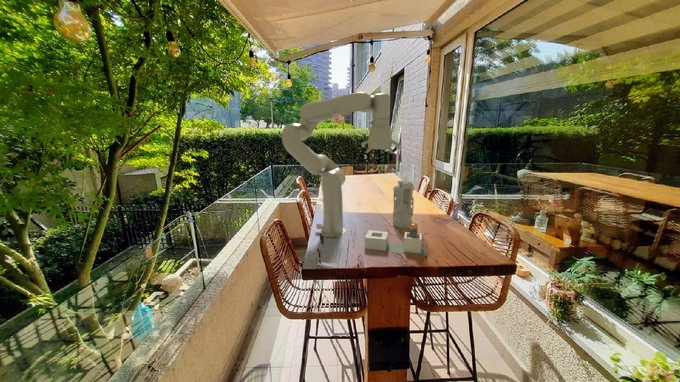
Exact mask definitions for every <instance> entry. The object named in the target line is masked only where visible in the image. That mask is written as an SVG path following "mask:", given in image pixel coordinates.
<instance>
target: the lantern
mask: <svg viewBox="0 0 680 382" xmlns="http://www.w3.org/2000/svg"><path fill="white" fill-rule="evenodd" d="M414 190H415V187H414V184H413V183H412V181H411V180H399V181H397V185H396V186H393V199H392V201H393V212H392V223H393V226H394V227H396V228H397V227H398V229H410V223H414V222H413V219H412V217H413V215H414V201H415V200H414V196H413V194H414Z"/></svg>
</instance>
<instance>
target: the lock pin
mask: <svg viewBox="0 0 680 382" xmlns="http://www.w3.org/2000/svg"><path fill="white" fill-rule="evenodd" d="M418 226H419V225H418V223H416V222H413V223H410V228H409V232H410V238H417V233H418V228H419V227H418Z"/></svg>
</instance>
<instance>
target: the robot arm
mask: <svg viewBox="0 0 680 382" xmlns="http://www.w3.org/2000/svg"><path fill="white" fill-rule="evenodd" d="M390 110H391V95H390V94H388V93H375V94H374V95H369V93H367V92H363V91H359V92H353V93H348V94H343V95H340V96H336V97H332V98H328V99H322V100H318V101H312V102H308V103H305V104H303V105H301V107H300V108H299V115H300V120H299V121H298V122H296V123H294V122H293V123H292V122H291V123H287V125H285V126H284V127H283V130H282V132H281V142H282V144H283V147H284V149H285V150H286V151H287V152H288V154H289V155H291V156H292V158H294V159H295V160H296V161H297V162H298V163H299V164H300V165H301V166H302V167H303V168H305V170H307V171H308V172H309V173H310V174H311V175H313V176H319V175H320V176H321V180H320V184H321V185H320V186H321V192H322V193H321V194H322V206H323V207H322V208H323V212H322V213H323V223H322V224H321V223H316V227H315V228H316V229H318V230H321V231H320V234H321V236H322V237H324V238H325V237H326V238H334V239H335V238H337V237H339V236H342V235H345V234H346V232H347V230H346V228H344V224H343V223H344V222H343V221H344V219H343V217H344V216H343V212H344V211H343V208H344V207H343V192H342V191H343V190H342V186H343V185H344V183H345V182H346V174H345V172H344V171H343V170H342V169H341V167H339V166H338V165H337V164H336V163H335V162H334V161H332V160H331V158H330V157H328V156H327V155H325V154H321V153H320V154H318V153H315V151H314V150H313V149H311V148H310V147H309V145H306V143H304V141H306V140H308V138H309V137H310V136H311V135H312V134H313V132H314V130H315V129H316V128H317V126H319V124H320V122H321V121H325V120H331V119H335V118H338V117H340V116H341V115H345V114H348V113H355V112H361V113H370V112H372V117H371V120H369V121H368V124H369V125H371V126H369V127H370V128H369V133H368V139H367V140H364V141H363V142H361V143H360V145H361V147H362V149H363V150H364V152H365V153H366V161H367V163H370V162H372V161H371V159H372V157H371V156H372V155H371V151H372V150H387V151H388V152H389V155H388V163H392V162H393V160H394V159H393V158H394V153H395V152H396V151H397V150H398V149H399V147H400V142H397V141H395V140H394V139H393V136H392V134H393V133H392V128H391V126H390V119H391V116H390V113H391V111H390ZM366 144H367V146H368V147H366ZM392 144H393V145H394V146H395V147H394V148H392Z"/></svg>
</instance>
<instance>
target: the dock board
mask: <svg viewBox="0 0 680 382" xmlns="http://www.w3.org/2000/svg"><path fill="white" fill-rule="evenodd" d="M422 237H423V236H422V233H421V232H417V238H410V231H408V232H407V231H405V232H404V237H403V243H402V242H401V243H400V242H390V241H389V231H380V230H370V229H369V230H367V233H366V234H365V237H364V244H363V246H362V248H361V250H368V251H378V252H385V253H386V252H387V253H397V254H405V255H406V254H407V255H414V256H415V255H416V256H425V257H424V258H425V259H427V246H426V245H423V244H422V240H423V239H422Z"/></svg>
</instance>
